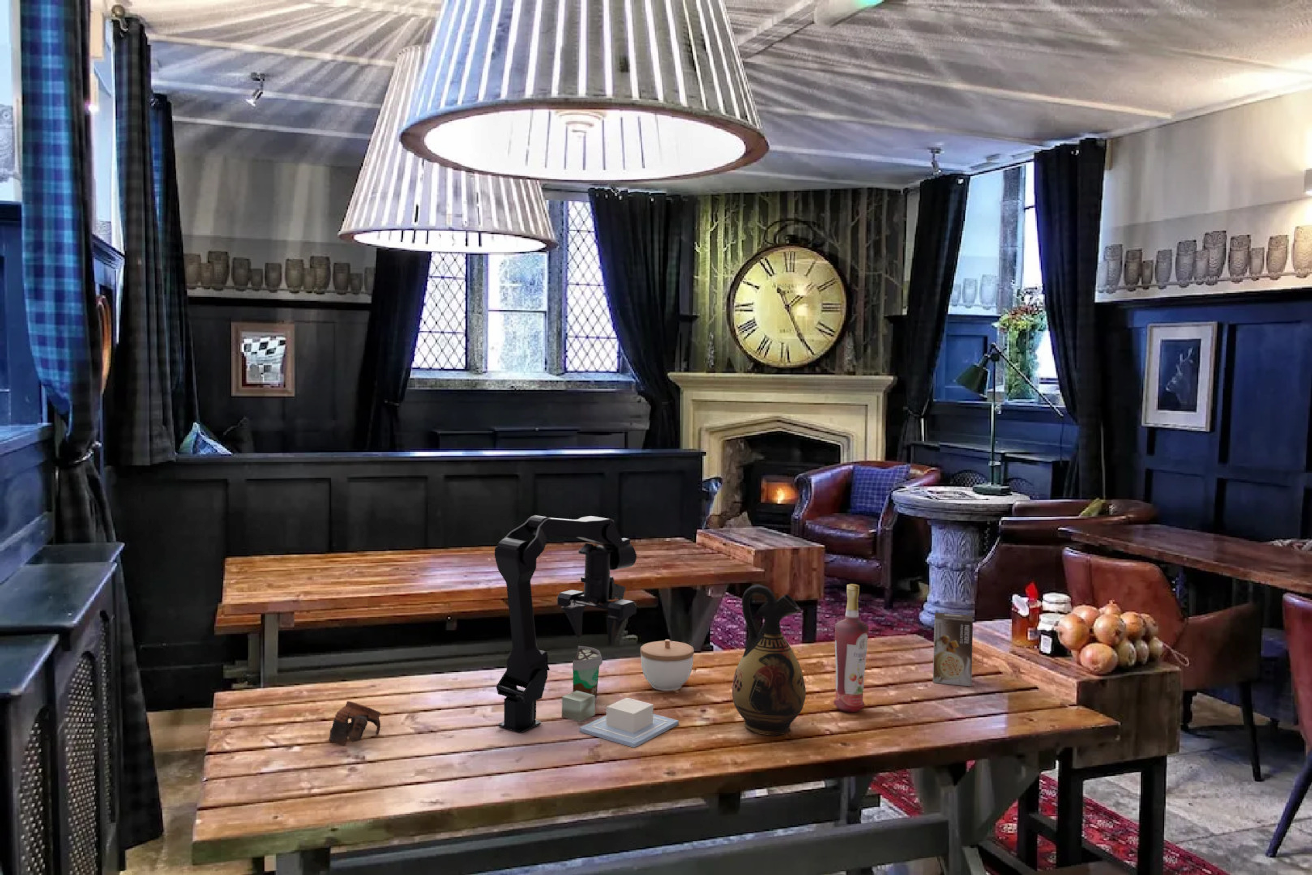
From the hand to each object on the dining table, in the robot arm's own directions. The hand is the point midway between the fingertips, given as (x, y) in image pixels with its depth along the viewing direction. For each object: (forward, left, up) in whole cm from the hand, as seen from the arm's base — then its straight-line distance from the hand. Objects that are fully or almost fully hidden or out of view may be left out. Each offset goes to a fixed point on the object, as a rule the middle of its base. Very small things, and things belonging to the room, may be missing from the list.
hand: (595, 640), depth 224 cm
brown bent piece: (-48, +23, -14) cm, 55 cm away
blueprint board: (-10, -17, -13) cm, 24 cm away
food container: (0, +2, -13) cm, 14 cm away
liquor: (+29, -49, -13) cm, 59 cm away
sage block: (-11, -4, -13) cm, 18 cm away
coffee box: (+63, -61, -13) cm, 89 cm away
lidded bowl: (+17, -8, -13) cm, 23 cm away
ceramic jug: (+8, -39, -13) cm, 42 cm away
